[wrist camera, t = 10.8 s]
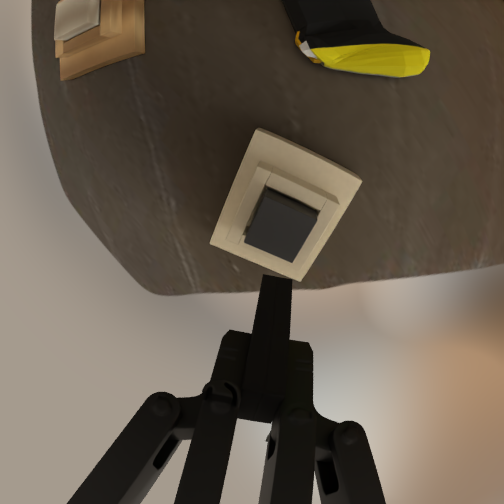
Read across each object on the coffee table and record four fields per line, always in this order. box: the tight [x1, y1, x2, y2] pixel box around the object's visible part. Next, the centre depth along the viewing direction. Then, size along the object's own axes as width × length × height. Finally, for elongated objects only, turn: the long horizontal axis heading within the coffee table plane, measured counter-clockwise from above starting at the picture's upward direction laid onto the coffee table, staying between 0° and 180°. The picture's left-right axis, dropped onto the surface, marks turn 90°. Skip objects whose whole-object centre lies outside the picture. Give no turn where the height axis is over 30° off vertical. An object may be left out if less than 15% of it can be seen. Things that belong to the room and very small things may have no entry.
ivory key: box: [54, 0, 101, 41], centre depth 13 cm, size 4×4×2 cm
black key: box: [244, 188, 317, 263], centre depth 22 cm, size 4×4×2 cm
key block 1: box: [56, 0, 145, 81], centre depth 16 cm, size 12×10×4 cm
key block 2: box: [210, 127, 362, 282], centre depth 25 cm, size 12×10×4 cm
